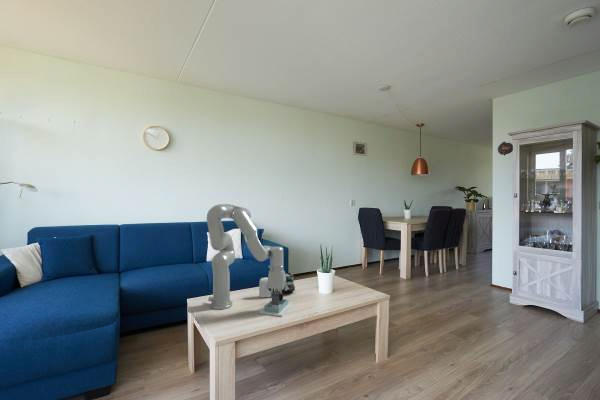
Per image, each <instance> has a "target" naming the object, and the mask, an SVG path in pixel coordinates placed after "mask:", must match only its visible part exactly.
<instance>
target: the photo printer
mask: <svg viewBox="0 0 600 400" xmlns="http://www.w3.org/2000/svg"><path fill="white" fill-rule="evenodd" d="M259 279H260V280H259V284H258V291H259V292H258V297H259V298H271V293H270V291H269V289H267V288H266V285H267V284H268V277H261V278H259ZM274 291H275V289H274Z"/></svg>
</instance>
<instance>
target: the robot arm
mask: <svg viewBox="0 0 600 400" xmlns="http://www.w3.org/2000/svg"><path fill="white" fill-rule="evenodd" d="M251 215H252V213H251V211H250V210H249V208H245V207H242V206H241V207H240V206H238V205H234V204H230V203H225V204H224V203H222V204H216V205H214V206H212V207H210V209H209V210H208V212H207V214H206V223H207V229H208V235H209V240H210V246H211V248H212V249H213V250H215V251H218V252H217V253H216V254H214V256H213V257H212V260H211V267H212V295H213V296H208V299H207V301H208V302H211V303H210V308H211V309H213V310H224V309H228V308H231V307H232V306H233V301H232V300H231V299H230V298H231V297H230V295H231V293H230V292H231V291H230V289H231V287H230V285H231V284H230V283H231V277H230V275H231V273H230V268H229V266H230V265H231V264H233V263H234V261H235V259H236V253H235V247H234V241H233V238H232V236H231V234H230V233H228V232H225V230H224V225H223V223H222V219H232V220H233V221H234V223H235V225H236V226H237V228H238V229H239V231H240V232H241V234H242V235H243V237H244V240H245V244H246V247H247V248H248V250H249V251H250V253H251V255H252V256H253V258H254V259H255V260H256V261H257V262H265V261H266V260H268V259H270V260H269V261H270V262H269V263H270V265H267V266H268V267H267V268H268V269H270V270H268V284H267V285H266V288H267V289H269V291H270V293H271V295H272V292H274V289H279V290H280V295H279V301H282V299H284V293H286V292H285V291H286V290H288V289H289V288H288V286H287V284H286V276H285V274H286V272H285V270H284V268H285V267H284V248H283V247H282V246H279V245H278V246H272V245H271V246H270V245H262V244H261V242H260V240H259V237H258V228H257V227H256V225H255V224H254V222H253V220H252V219H251V217H252V216H251ZM284 287H285V289H284ZM283 289H284V290H283Z"/></svg>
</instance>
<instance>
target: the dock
mask: <svg viewBox="0 0 600 400" xmlns="http://www.w3.org/2000/svg"><path fill="white" fill-rule="evenodd" d="M293 306H294V302H293V303H292V302H289V299H287V298H283V299H282V303H281V304H280V305H279V306H274V305H272V299H271V300H270V301H269V302H268V303H267V304H265V305H264V306H263V308H261V309H260V310H258V314H259V315H260V314H261V315H266V316H273V317H281V318H283V316H285V314H287V312H288V311H289V310H290V309H291V308H293Z"/></svg>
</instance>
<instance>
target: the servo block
mask: <svg viewBox="0 0 600 400" xmlns="http://www.w3.org/2000/svg"><path fill="white" fill-rule="evenodd" d="M279 295H280V290H279V289H277V290H275V291H274V292H272V295H271V297H270V298H271V300H272V305H274V306H279V305H280V304H281V303H282V301H279Z"/></svg>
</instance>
